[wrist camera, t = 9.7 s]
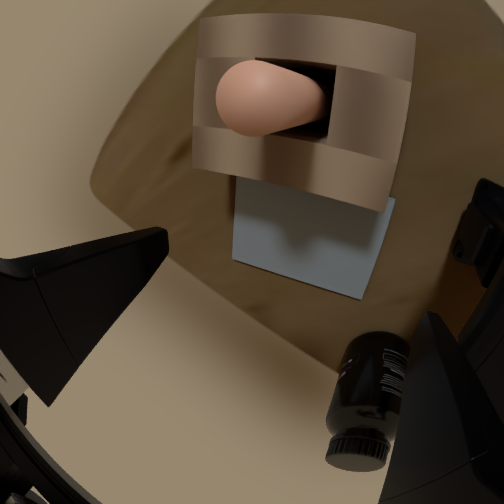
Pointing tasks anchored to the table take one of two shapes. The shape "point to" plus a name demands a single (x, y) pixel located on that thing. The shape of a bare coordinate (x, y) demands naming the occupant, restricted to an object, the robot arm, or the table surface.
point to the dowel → (269, 99)
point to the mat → (307, 235)
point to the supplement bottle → (367, 402)
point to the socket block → (342, 113)
